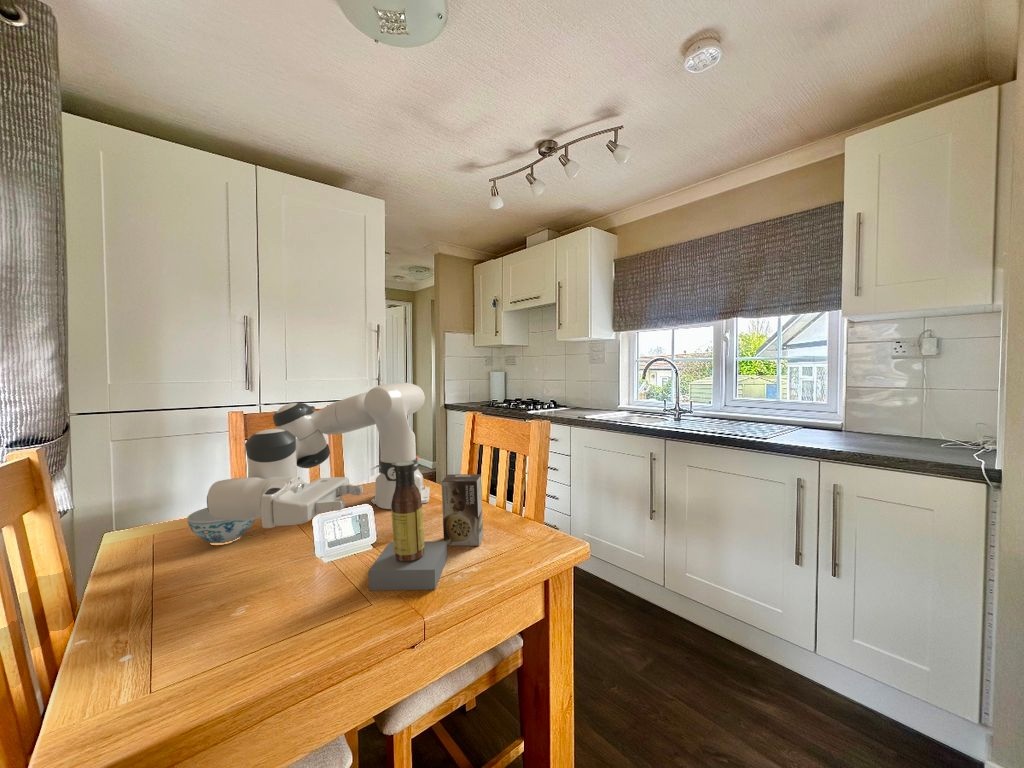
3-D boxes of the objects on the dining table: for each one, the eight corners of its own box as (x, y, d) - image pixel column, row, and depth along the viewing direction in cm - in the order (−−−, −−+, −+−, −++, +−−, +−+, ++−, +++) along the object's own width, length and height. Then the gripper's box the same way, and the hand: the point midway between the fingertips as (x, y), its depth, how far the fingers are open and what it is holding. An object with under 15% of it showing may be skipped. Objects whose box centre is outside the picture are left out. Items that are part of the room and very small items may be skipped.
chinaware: (216, 557, 94) (215, 524, 94) (173, 549, 99) (172, 518, 99) (273, 532, 109) (272, 504, 108) (233, 526, 114) (231, 499, 113)
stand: (390, 559, 92) (389, 541, 92) (447, 558, 91) (446, 541, 91) (369, 590, 79) (368, 570, 79) (435, 589, 78) (434, 569, 78)
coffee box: (483, 535, 104) (482, 473, 103) (479, 546, 97) (477, 480, 97) (449, 535, 105) (447, 473, 104) (442, 545, 98) (440, 480, 98)
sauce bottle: (414, 547, 89) (412, 457, 88) (430, 555, 84) (428, 461, 84) (387, 557, 84) (384, 462, 83) (402, 567, 80) (399, 467, 79)
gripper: (313, 497, 95) (371, 496, 95) (257, 532, 75) (331, 531, 75) (312, 470, 95) (370, 470, 95) (256, 498, 75) (330, 497, 75)
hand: (352, 497), depth 85 cm, fingers open, 8 cm apart
